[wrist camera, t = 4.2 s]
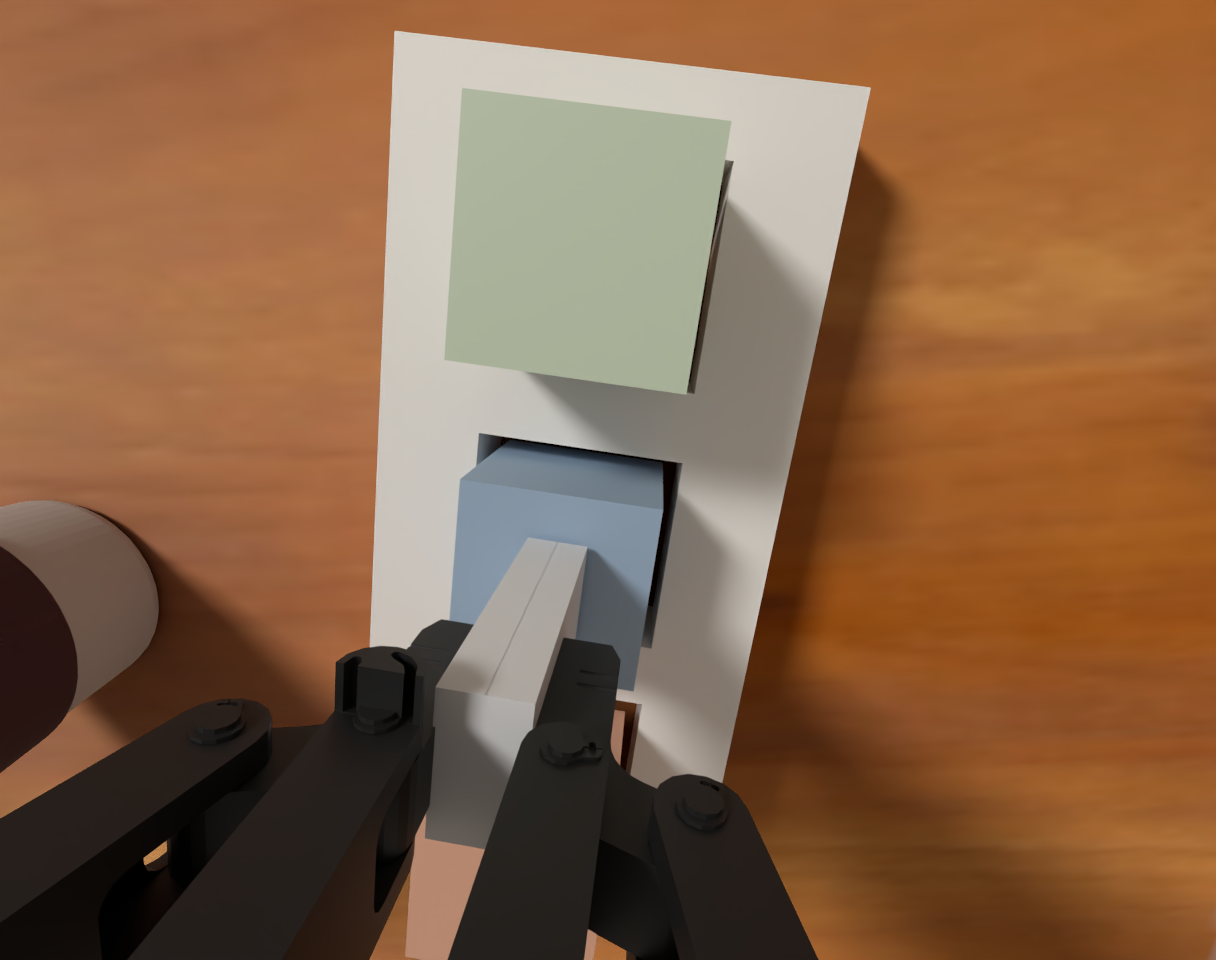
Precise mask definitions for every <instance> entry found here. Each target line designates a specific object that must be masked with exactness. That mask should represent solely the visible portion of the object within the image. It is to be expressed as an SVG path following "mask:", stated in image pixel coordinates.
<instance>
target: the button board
mask: <svg viewBox="0 0 1216 960" xmlns="http://www.w3.org/2000/svg"><path fill="white" fill-rule="evenodd" d="M462 88H467V89H475V90H483V91H491V92H499V93H507V94H515V95H524V96H532V97H540V98H548V99H556V100H564V101H572V102H581V103H589V104H597V105H605V106H613V107H621V108H629V109H638V110H646V111H654V112H662V113H670V114H678V115H686V116H695V117H703V118H711V119H719V120H727V121H732V122H731V128H730V134H729V140H728V146H727V152H726V158H725V164H724V170H723V176H722V182H721V185H723V187H722V193H721V199H720V205H719V211H718V217H717V223H716V229H715V235H714V241H713V247H712V254H711V260H710V266H709V272H708V278H707V284H706V290H705V296H704V302H703V308H702V314H701V320H700V326H699V332H698V338H697V344H696V350H695V356H694V362H693V368H692V374H691V380H690V384H689V383H688V388H687V394H686V395H685V394H678V393H671V392H664V391H657V390H650V389H643V388H636V387H629V386H622V385H615V384H608V383H601V382H594V381H587V380H580V379H573V378H566V377H559V376H552V375H545V374H538V373H531V372H525V371H518V370H511V369H504V368H497V367H490V366H483V365H476V364H469V363H462V362H455V361H448V360H444V356H445V341H446V326H447V311H448V295H449V280H450V265H451V250H452V234H453V219H454V204H455V189H456V173H457V158H458V143H459V128H460V112H461V97H462ZM870 89H871V88H870V87H862V86H853V85H845V84H836V83H828V82H820V81H811V80H803V79H795V78H786V77H778V76H769V75H761V74H753V73H744V72H736V71H727V70H719V69H711V68H702V67H694V66H685V65H677V64H669V63H660V62H652V61H643V60H635V59H627V58H618V57H610V56H602V55H593V54H585V53H576V52H568V51H560V50H551V49H543V48H534V47H526V46H518V45H509V44H501V43H492V42H484V41H476V40H467V39H459V38H450V37H442V36H434V35H425V34H417V33H409V32H400V31H395V34H394V59H393V84H392V109H391V133H390V158H389V183H388V208H387V233H386V258H385V282H384V307H383V332H382V357H381V382H380V407H379V431H378V456H377V481H376V506H375V531H374V555H373V580H372V605H371V630H370V647H376V646H392V647H400V648H404V649H407V648H408V647H410V646H411V643H412V642H413V641H414V639H415V638H416V637H417V635H418V634H419V633H420V632H421V630H422V629H424V628H426V627H428V626H430V625H432V624H433V623H435V622H437V621H439V620H441V619H443V620H449V619H450V605H451V592H452V579H453V566H454V552H455V539H456V526H457V513H458V499H459V486H460V479H461V478H462V477H463V476H465V475H466V474H467V473H468V472H470V471H471V470H472V469H473V468H475V467H476V466H477V465H478V464H480V463H481V462H482V461H483V460H485V459H486V458H487V457H489V456H490V455H491V454H492V453H494V452H495V451H496V450H497V449H499V448H500V447H501V441H502V436H503V437H510V438H516V439H523V440H530V441H536V442H543V443H550V444H557V445H563V446H570V447H577V448H584V449H590V450H597V451H604V452H611V453H617V454H624V455H631V456H638V457H644V458H651V459H658V460H664V461H671V462H677V465H676V471H675V477H674V483H673V489H672V495H671V501H670V507H669V513H668V519H667V525H666V531H665V537H664V543H663V549H662V555H661V561H660V567H659V573H658V579H657V585H656V591H655V597H654V603H653V606H647V612H646V619H645V625H644V631H643V637H642V643H641V649H640V655H639V661H638V668H637V674H636V680H635V686H634V691H628V690H622V689H617V695H616V700H619V701H625V702H631V703H637V706H636V712H635V718H634V724H633V730H632V736H631V742H630V748H629V754H628V760H627V766H626V772H627V773H629V774H630V775H631V776H632V777H634V778H636V779H638V780H640V781H642V782H643V783H646V784H648V785H650V786H652V787H655V788H658V786H659V785H660V783H662V782H664V781H665V780H667V779H669V778H670V777H672V776H678V775H684V774H693V775H700V776H706V777H709V778H711V779H713V780H716V781H718V782H720V783H722V782H723V778H724V773H725V768H726V763H727V759H728V754H729V749H730V745H731V740H732V735H733V731H734V726H735V721H736V717H737V712H738V707H739V703H740V698H741V693H742V689H743V684H744V679H745V675H746V670H747V665H748V660H749V656H750V651H751V646H752V642H753V637H754V632H755V628H756V623H757V618H758V614H759V609H760V604H761V600H762V595H763V590H764V586H765V581H766V576H767V572H768V567H769V562H770V557H771V553H772V548H773V543H774V539H775V534H776V529H777V525H778V520H779V515H780V511H781V506H782V501H783V497H784V492H785V487H786V483H787V478H788V473H789V469H790V464H791V459H792V454H793V450H794V445H795V440H796V436H797V431H798V426H799V422H800V417H801V412H802V408H803V403H804V398H805V394H806V389H807V384H808V380H809V375H810V370H811V366H812V361H813V356H814V351H815V347H816V342H817V337H818V333H819V328H820V323H821V319H822V314H823V309H824V305H825V300H826V295H827V291H828V286H829V281H830V277H831V272H832V267H833V263H834V258H835V253H836V248H837V244H838V239H839V234H840V230H841V225H842V220H843V216H844V211H845V206H846V202H847V197H848V192H849V188H850V183H851V178H852V174H853V169H854V164H855V160H856V155H857V150H858V145H859V141H860V136H861V131H862V127H863V122H864V117H865V113H866V108H867V103H868V99H869V94H870Z"/></svg>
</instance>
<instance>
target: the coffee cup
mask: <svg viewBox="0 0 1216 960" xmlns="http://www.w3.org/2000/svg"><path fill="white" fill-rule="evenodd" d="M158 613H159V603H158V595H157V588H156V584H155V581H154V579H153V576H152V573H151V570H150V568H149V566H148V564H147V563H146V561H145V559H144V558H143V556H142V555H141V553H140V551H139V550H138V549H137V547H136V546H135V545H134V544H133V542H132V541H131V540H130V539H129V538H128V537H127V536H126V535H125V534H124V533H123V532H122V531H121V530H120V529H118V528H117V527H116V526H115V525H114V524H112V523H111V522H109V521H108V520H106V519H105V518H103V517H102V516H100V515H98V514H96V513H94V512H92V511H90V510H88V509H85V508H82V507H79V506H76V505H73V504H70V503H65V502H59V501H52V500H38V501H27V502H21V503H16V504H12V505H7V506H3V507H0V773H1V772H2V771H3V770H5V769H6V768H7V767H9V766H10V765H11V764H12V763H14V762H15V761H16V760H18V759H19V758H20V757H21V756H23V755H24V754H25V753H27V752H28V751H29V750H31V749H32V748H33V747H34V746H36V745H37V744H38V743H40V742H41V741H42V740H43V739H45V738H46V737H47V736H48V735H49V734H50V733H51V732H52V731H54V730H55V728H56V727H57V726H58V725H59V724H60V723H61V722H62V720H63V719H64V717H65V716H66V714H67V713H68V712H69V711H71V710H72V709H73V708H75V707H76V706H77V705H79V704H80V703H81V702H83V701H84V700H85V699H87V698H88V697H89V696H91V695H92V694H93V693H95V692H96V691H97V690H99V689H100V688H101V687H102V686H104V685H105V684H106V683H108V682H109V681H110V680H112V679H113V678H114V677H116V676H117V675H118V674H120V673H121V672H122V671H124V670H125V669H126V668H128V667H129V666H130V665H132V664H133V663H134V662H135V661H136V660H137V659H138V658H139V657H140V656H141V654H142V653H143V652H144V651H145V649H146V648H147V647H148V646H149V644H150V641H151V639H152V637H153V635H154V633H155V630H156V626H157V622H158Z"/></svg>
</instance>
